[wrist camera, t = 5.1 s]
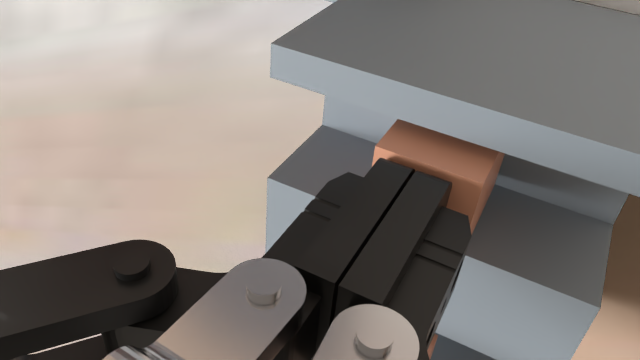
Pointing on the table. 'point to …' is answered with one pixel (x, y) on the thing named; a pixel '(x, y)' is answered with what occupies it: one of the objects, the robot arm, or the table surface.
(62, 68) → the table surface
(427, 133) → the plunger
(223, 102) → the table surface
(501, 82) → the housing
